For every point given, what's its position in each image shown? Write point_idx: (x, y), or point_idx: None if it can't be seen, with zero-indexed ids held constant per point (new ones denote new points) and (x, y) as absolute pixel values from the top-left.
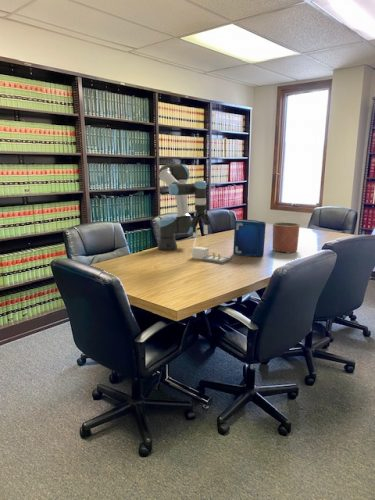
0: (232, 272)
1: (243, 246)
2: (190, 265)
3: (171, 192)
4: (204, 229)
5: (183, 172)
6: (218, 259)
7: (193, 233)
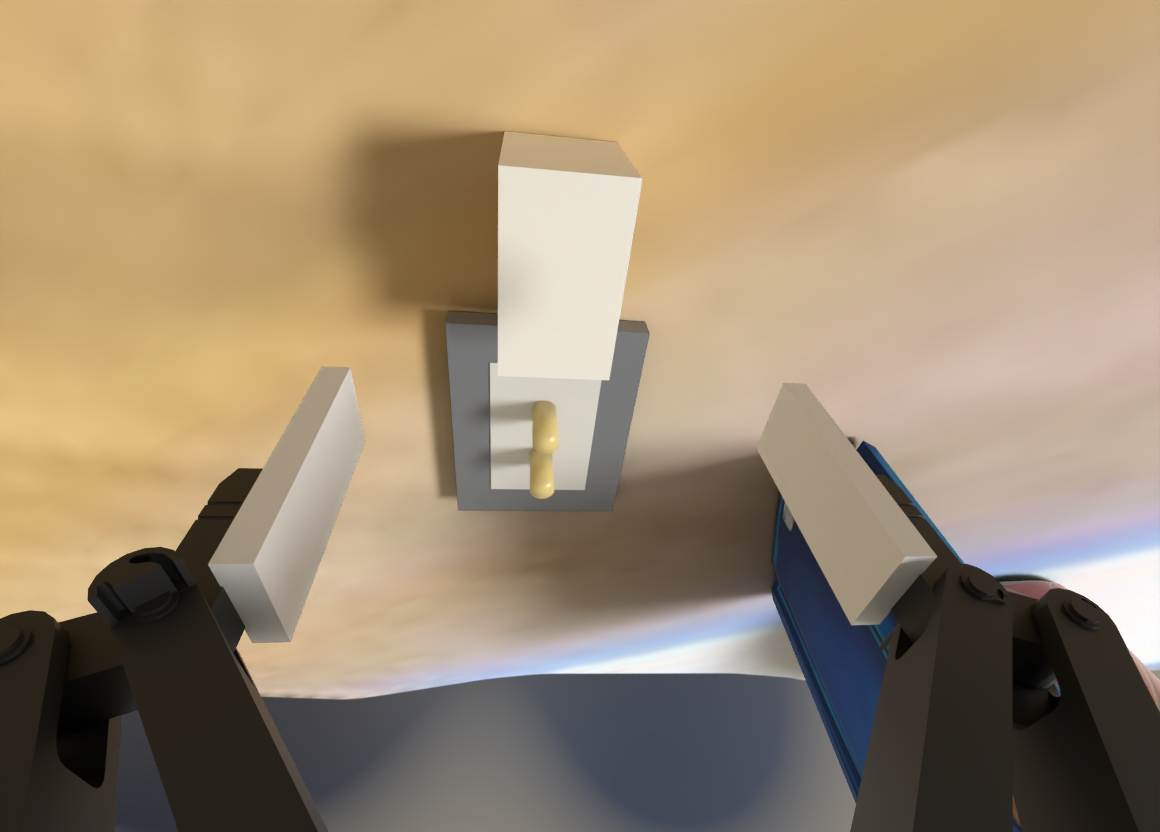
0: (322, 597)
1: (807, 580)
2: (197, 297)
3: None
4: (822, 469)
5: None
6: (507, 461)
7: (293, 433)
